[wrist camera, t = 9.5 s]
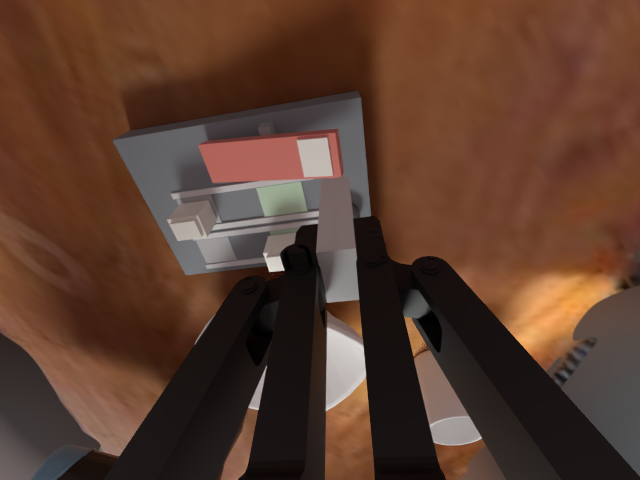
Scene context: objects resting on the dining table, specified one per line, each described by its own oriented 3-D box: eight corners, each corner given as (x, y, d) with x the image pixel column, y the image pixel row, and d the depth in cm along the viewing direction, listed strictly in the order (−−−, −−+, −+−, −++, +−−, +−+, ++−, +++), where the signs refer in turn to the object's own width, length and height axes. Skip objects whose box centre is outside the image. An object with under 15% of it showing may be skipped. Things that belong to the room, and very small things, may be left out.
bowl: (242, 236, 37) (221, 286, 30) (387, 296, 42) (398, 352, 35) (197, 334, 48) (174, 387, 41) (317, 373, 53) (315, 427, 46)
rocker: (218, 178, 29) (211, 183, 28) (204, 140, 27) (196, 145, 26) (343, 172, 25) (340, 178, 24) (338, 128, 23) (334, 133, 22)
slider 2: (273, 253, 34) (268, 274, 31) (268, 235, 33) (262, 255, 30) (300, 250, 34) (298, 271, 31) (296, 232, 32) (292, 252, 29)
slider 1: (189, 224, 32) (176, 243, 29) (179, 203, 31) (164, 221, 28) (217, 220, 32) (206, 239, 29) (208, 199, 30) (196, 217, 28)
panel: (194, 259, 39) (180, 284, 35) (130, 130, 30) (102, 145, 26) (371, 238, 36) (375, 262, 33) (358, 90, 27) (362, 101, 24)
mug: (427, 327, 45) (449, 398, 37) (482, 334, 46) (516, 405, 37) (402, 374, 52) (417, 442, 44) (450, 379, 53) (473, 448, 44)
